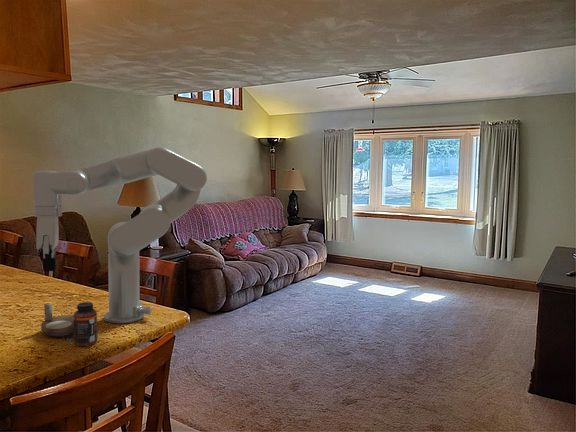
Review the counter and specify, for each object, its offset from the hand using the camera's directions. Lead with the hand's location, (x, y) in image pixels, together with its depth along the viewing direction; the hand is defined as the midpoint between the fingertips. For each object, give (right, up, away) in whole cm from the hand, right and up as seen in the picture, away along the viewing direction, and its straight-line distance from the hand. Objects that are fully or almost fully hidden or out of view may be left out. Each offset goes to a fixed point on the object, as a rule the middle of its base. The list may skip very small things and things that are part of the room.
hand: (49, 270), depth 137 cm
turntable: (+7, -16, -4) cm, 18 cm away
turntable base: (+7, -18, -5) cm, 20 cm away
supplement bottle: (+17, -19, -12) cm, 28 cm away
